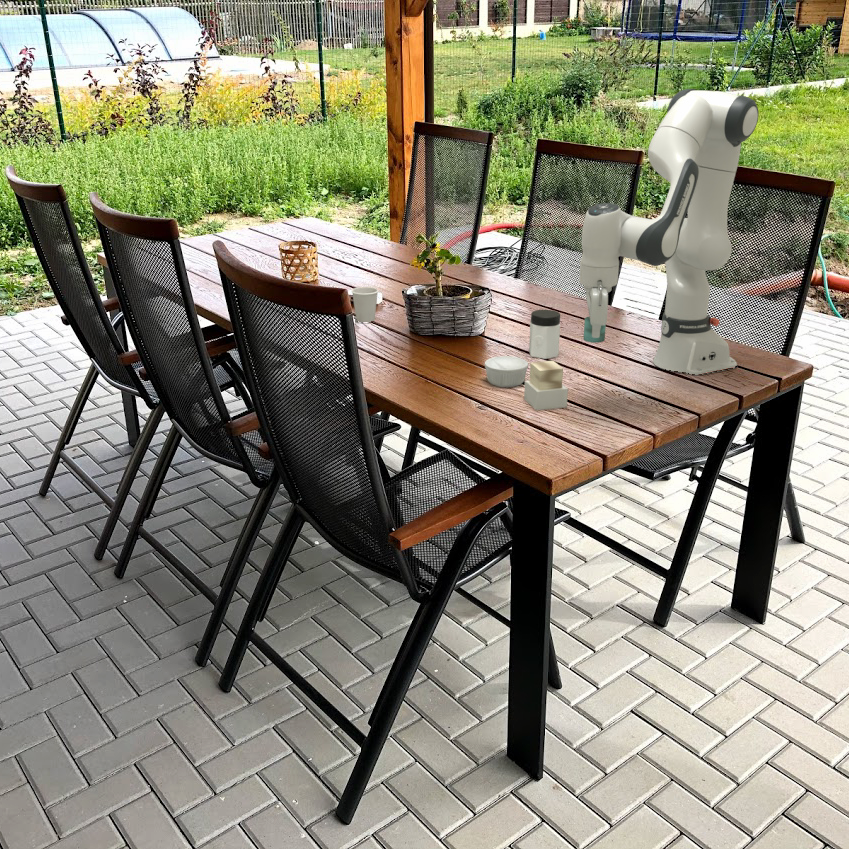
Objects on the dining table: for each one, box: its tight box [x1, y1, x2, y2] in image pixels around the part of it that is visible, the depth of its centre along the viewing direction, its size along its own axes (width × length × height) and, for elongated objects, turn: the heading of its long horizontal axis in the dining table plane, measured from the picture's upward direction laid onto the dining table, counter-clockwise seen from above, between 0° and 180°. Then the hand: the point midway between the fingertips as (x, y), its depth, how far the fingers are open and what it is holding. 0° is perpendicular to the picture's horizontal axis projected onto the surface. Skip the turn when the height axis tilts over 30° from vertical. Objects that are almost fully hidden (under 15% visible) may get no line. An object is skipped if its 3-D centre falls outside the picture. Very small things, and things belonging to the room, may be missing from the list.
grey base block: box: [523, 379, 569, 411], centre depth 228 cm, size 8×8×5 cm
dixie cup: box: [351, 286, 379, 322], centre depth 290 cm, size 8×8×10 cm
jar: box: [528, 309, 561, 360], centre depth 260 cm, size 9×8×12 cm
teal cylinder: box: [582, 316, 607, 344], centre depth 220 cm, size 5×5×5 cm
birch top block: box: [529, 360, 564, 390], centre depth 225 cm, size 6×6×5 cm
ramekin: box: [484, 355, 529, 388], centre depth 241 cm, size 11×11×5 cm
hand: (594, 332), depth 220 cm, fingers closed on teal cylinder, 5 cm apart
